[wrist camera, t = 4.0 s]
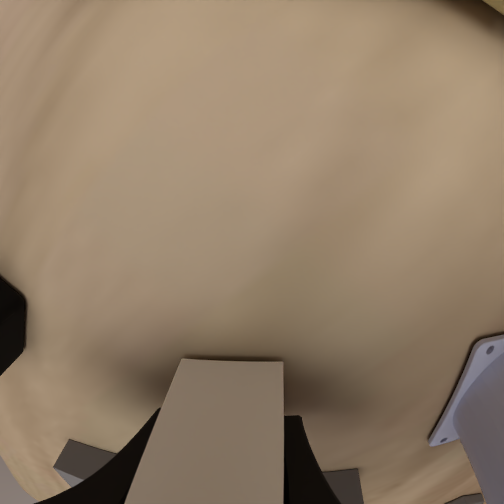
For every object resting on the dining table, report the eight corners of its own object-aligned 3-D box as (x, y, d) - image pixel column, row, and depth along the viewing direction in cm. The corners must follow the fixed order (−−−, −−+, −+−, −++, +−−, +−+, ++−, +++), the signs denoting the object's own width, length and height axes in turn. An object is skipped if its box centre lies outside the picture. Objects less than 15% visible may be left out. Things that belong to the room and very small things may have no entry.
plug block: (282, 361, 11) (281, 569, 4) (281, 424, 12) (276, 583, 5) (181, 358, 11) (110, 541, 4) (196, 420, 13) (156, 568, 5)
